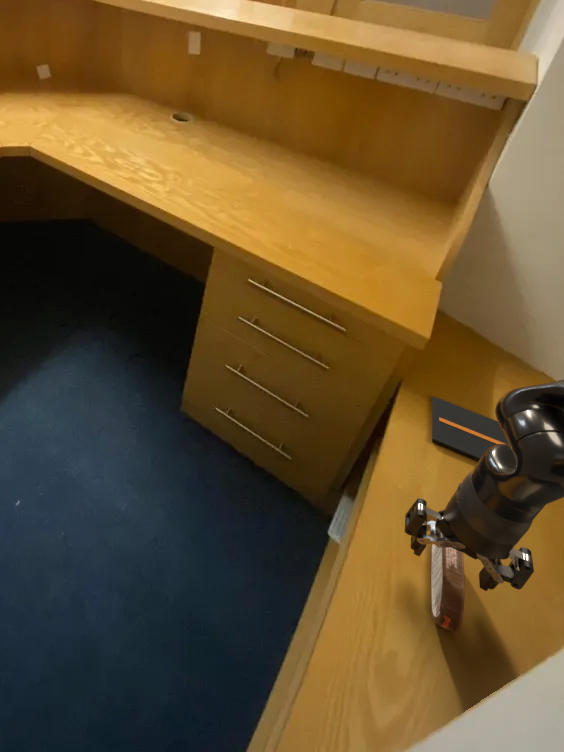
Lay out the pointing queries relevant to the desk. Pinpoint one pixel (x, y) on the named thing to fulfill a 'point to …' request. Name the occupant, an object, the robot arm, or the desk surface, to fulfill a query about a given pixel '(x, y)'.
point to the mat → (464, 429)
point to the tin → (447, 587)
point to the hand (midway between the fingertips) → (448, 565)
